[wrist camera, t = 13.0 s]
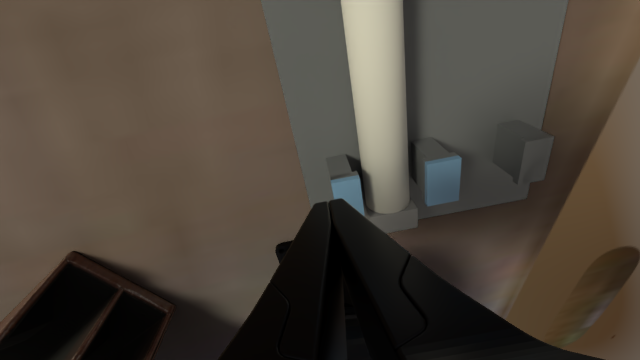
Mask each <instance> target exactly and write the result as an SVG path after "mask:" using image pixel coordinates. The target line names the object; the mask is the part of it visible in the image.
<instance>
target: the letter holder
mask: <svg viewBox="0 0 640 360" xmlns="http://www.w3.org/2000/svg"><path fill="white" fill-rule="evenodd" d="M175 309H176V306H175V305H174V304H172V303H170V302H169V301H167V300H165V299H163V298H161V297H159V296H157V295H156V294H154V293H152V292H150V291H148V290H146V289H144V288H142V287H141V286H139V285H137V284H135V283H133V282H131V281H129V280H128V279H125V278H124V277H122V276H120V275H118V274H116V273H114V272H112V271H110V270H109V269H107V268H105V267H103V266H101V265H99V264H97V263H96V262H94V261H92V260H90V259H88V258H86V257H85V256H82V255H81V254H79V253H77V252H73V251H72V252H70V253H69V254H68V255H67V256H66V257H64V258H63V260H62V261H61V262H60V263H59V264H58V265H57V266H56V267H55V268H54V269H53V270H52V271H51V272H50V273H49V274H48V275H47V276H46V277H45V278H44V279H43V280H42V281H41V282H40V283H39V284H38V285H37V286H36V287H35V288H34V289H33V290H32V291H31V292H30V293H29V294H28V295H27V296H26V297H25V298H24V299H23V300H22V301H21V302H20V303H19V304H18V305H17V307H15V308H14V309H13V310H12V311H11V312H10V313H9V314H8V315H7V316H6V317H5V318H4V319H3V320H2V322H1V323H0V360H154V358H155V355H156V353H157V351H158V348H159V346H160V344H161V341H162V339H163V336H164V334H165V332H166V329H167V327H168V325H169V323H170V320H171V318H172V317H173V314H174V312H175Z"/></svg>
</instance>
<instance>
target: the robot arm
mask: <svg viewBox="0 0 640 360" xmlns="http://www.w3.org/2000/svg"><path fill="white" fill-rule="evenodd" d="M329 206H330V207H329ZM279 249H284V250H279ZM276 255H277V258H278V260H279V263H280V265H279V266H278V268H277V270H276V272H275V273H274V275H273V277H272V279H271V280H270V283H269V284H268V285H267V287H266V289H265V291H264V292H263V294H262V296H261V297H260V299H259V301H258V302H257V304H256V306H255V307H254V309H253V310H252V312H251V313H250V315H249V316H248V318H247V319H246V321H245V322H244V324H243V325H242V327H241V328H240V329H239V331H238V332H237V334H236V335H235V336H234V338H233V339H232V341H231V342H230V343H229V345H228V346H227V347H226V349H225V350H224V352H223V353H222V354H221V356H220V357H219V358H218V360H604V359H600V358H595V357H591V356H587V355H583V354H579V353H574V352H570V351H567V350H563V349H560V348H557V347H554V346H552V345H549V344H547V343H545V342H542V341H540V340H538V339H536V338H534V337H532V336H530V335H529V334H527V333H525V332H523V331H522V330H520V329H518V328H517V327H515V326H514V325H512V324H510V323H509V322H507V321H506V320H504V319H503V318H501V317H500V316H498V315H497V314H495V313H494V312H492V311H491V310H489V309H487V308H486V307H484V306H483V305H481V304H480V303H478V302H477V301H475V300H474V299H472V298H470V297H469V296H467V295H466V294H464V293H463V292H461V291H460V290H458V289H457V288H455V287H454V286H452V285H451V284H449V283H448V282H447V281H445V280H444V279H442V278H441V277H439V276H438V275H437V274H435V273H434V272H433V271H431V270H430V269H429V268H428V267H426V266H425V265H424V264H422V263H421V262H420V261H419V260H417V259H416V258H415V257H414V256H411V254H410V253H409V252H408V251H406V250H405V249H404V248H403V247H401V246H400V245H399V244H398V243H397V242H395V241H394V240H393V239H392V238H390V237H389V236H388V235H387V234H386V233H384V232H383V231H382V230H381V229H379V228H378V227H377V226H376V225H375V224H373V223H372V222H371V221H370V220H368V219H367V218H366V217H365V216H364V215H362V214H361V213H360V212H359V211H357V210H356V209H355V208H354V207H352V206H351V205H350V204H349V203H348V202H346V201H345V200H344V199H342V198H339V199H334V200H330V201H329V203H328V201H324V202H319V203H315V204H314V205H313V207H312V209H311V211H310V212H309V214H308V216H307V218H306V219H305V221H304V223H303V225H302V226H301V228H300V230H299V232H298V233H297V235H296V237H295V238H294V240H293V241H291V242H285V243H280V244H278V245H277V246H276Z"/></svg>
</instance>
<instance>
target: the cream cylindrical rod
mask: <svg viewBox="0 0 640 360" xmlns="http://www.w3.org/2000/svg"><path fill="white" fill-rule="evenodd" d="M341 7H342V15H343V23H344V31H345V39H346V47H347V55H348V63H349V71H350V79H351V87H352V95H353V103H354V111H355V119H356V127H357V135H358V143H359V151H360V159H361V167H362V175H363V183H364V191H365V193H362V199H363V207H364V215H365V217H366V218H367V219H368V220H370V221H371V222H372V223H373V224H375V225H376V226H377V227H378V228H379V229H381V230H382V231H383V232H384V233H390V232H396V231H401V230H406V229H411V228H417V227H418V208H417V207H416V205H415V204H414V202H413V200H412V199H411V197H410V196H409V168H408V138H407V108H406V78H405V48H404V19H403V0H341Z"/></svg>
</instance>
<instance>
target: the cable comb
mask: <svg viewBox="0 0 640 360" xmlns="http://www.w3.org/2000/svg"><path fill="white" fill-rule="evenodd" d="M261 3H262V7H263V11H264V15H265V19H266V24H267V28H268V32H269V36H270V40H271V44H272V48H273V53H274V57H275V61H276V65H277V69H278V73H279V78H280V82H281V86H282V90H283V94H284V98H285V102H286V107H287V111H288V115H289V119H290V123H291V127H292V132H293V136H294V140H295V144H296V148H297V152H298V156H299V161H300V165H301V169H302V173H303V177H304V181H305V186H306V190H307V194H308V198H309V202H310V206H311V209H312V207H313V205H314V204H315V203H319V202H324V201H328V203H329V201H330V200H334V199H339V198H342V199H344V200H345V201H346V202H348V203H349V204H350V205H351V206H352V207H354V208H355V209H356V210H357V211H359V212H360V213H361V214H362V215H364V207H363V199H362V193H365V191H364V183H363V175H362V167H361V159H360V151H359V143H358V135H357V127H356V119H355V111H354V103H353V95H352V87H351V79H350V71H349V63H348V55H347V47H346V39H345V31H344V23H343V15H342V7H341V0H261ZM567 4H568V0H403V19H404V48H405V78H406V108H407V138H408V168H409V196H410V197H411V199H412V200H413V202H414V204H415V205H416V207H417V208H418V219H424V218H429V217H434V216H439V215H445V214H450V213H455V212H460V211H465V210H471V209H476V208H481V207H486V206H491V205H497V204H502V203H507V202H512V201H518V200H523V199H527V195H528V191H529V186H530V183H531V182H536V181H541V180H544V179H545V175H546V170H547V166H548V162H549V158H550V153H551V149H552V145H553V141H554V136H552V135H550V134H548V133H546V132H544V131H542V130H541V128H542V124H543V119H544V114H545V109H546V105H547V100H548V95H549V90H550V85H551V81H552V76H553V71H554V66H555V62H556V57H557V52H558V47H559V42H560V38H561V33H562V28H563V23H564V19H565V14H566V9H567ZM329 207H330V206H329ZM364 216H365V215H364Z"/></svg>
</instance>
